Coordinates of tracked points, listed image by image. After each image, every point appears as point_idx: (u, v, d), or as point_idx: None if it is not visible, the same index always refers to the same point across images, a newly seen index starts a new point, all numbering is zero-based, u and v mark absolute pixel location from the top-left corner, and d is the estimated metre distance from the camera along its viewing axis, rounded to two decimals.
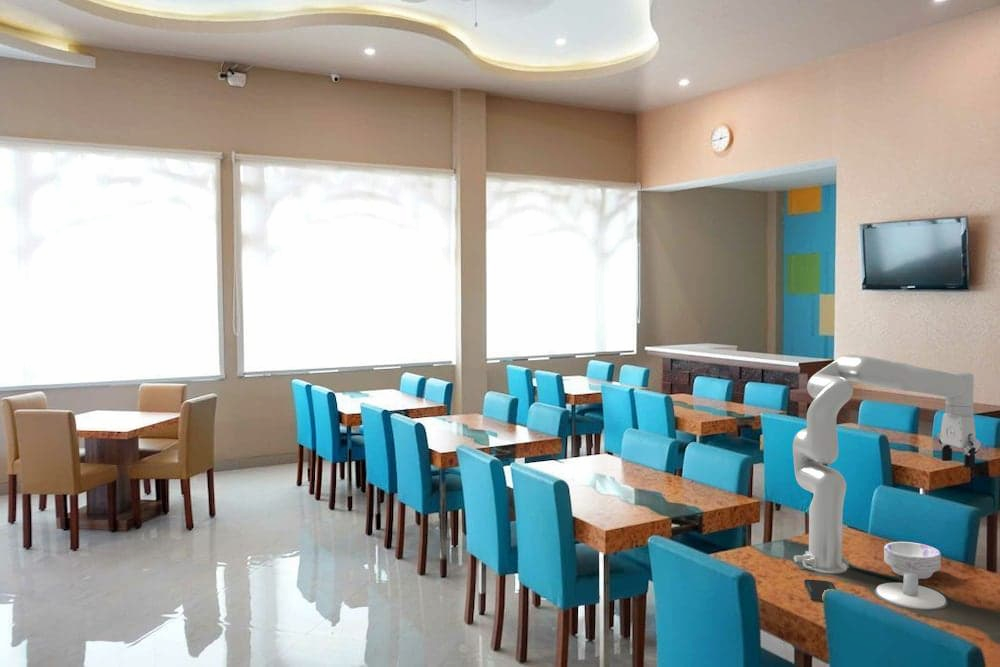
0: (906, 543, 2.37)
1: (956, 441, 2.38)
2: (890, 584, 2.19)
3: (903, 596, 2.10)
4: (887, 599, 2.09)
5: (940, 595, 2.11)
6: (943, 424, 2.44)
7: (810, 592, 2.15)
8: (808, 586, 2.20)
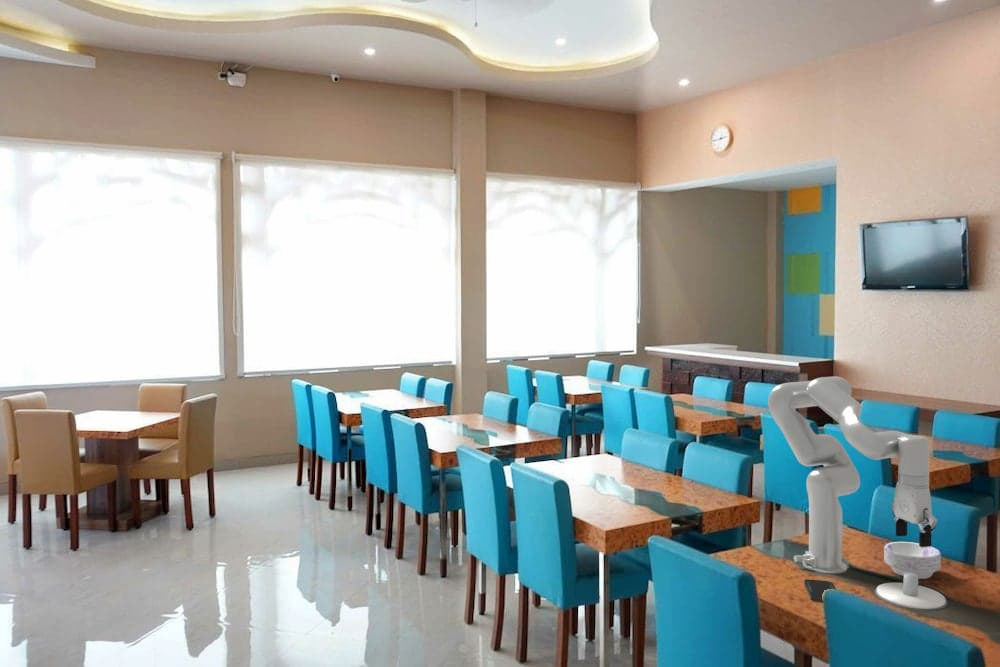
0: (906, 543, 2.37)
1: (910, 516, 2.08)
2: (890, 584, 2.19)
3: (903, 596, 2.10)
4: (887, 599, 2.09)
5: (940, 595, 2.11)
6: (896, 495, 2.14)
7: (810, 592, 2.15)
8: (808, 586, 2.20)
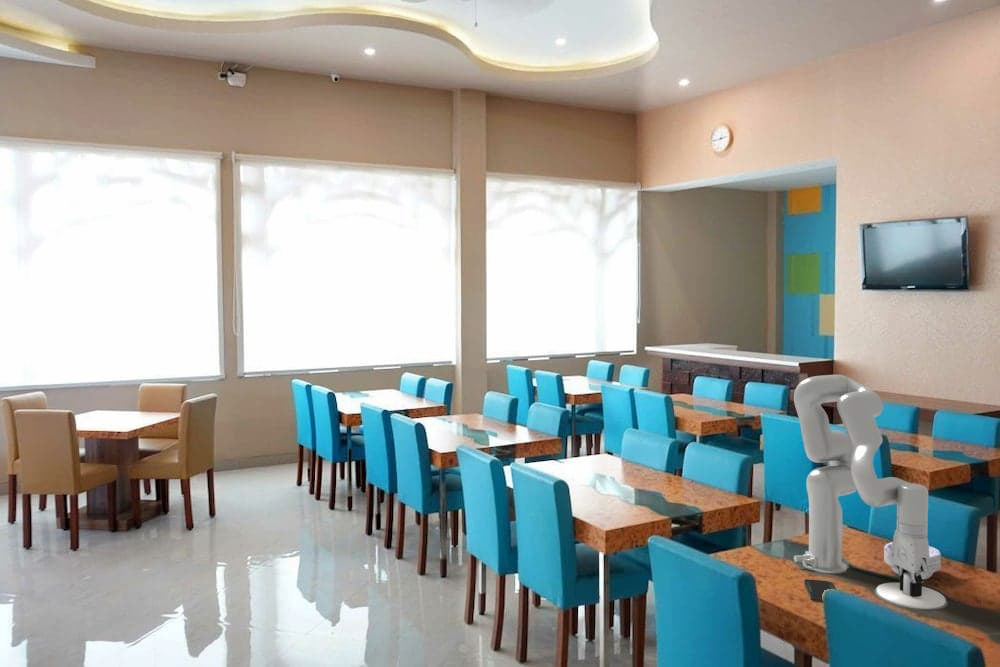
0: None
1: (908, 565, 2.09)
2: (890, 584, 2.19)
3: (903, 596, 2.10)
4: (887, 599, 2.09)
5: (940, 595, 2.11)
6: (894, 542, 2.14)
7: (810, 592, 2.15)
8: (808, 586, 2.20)
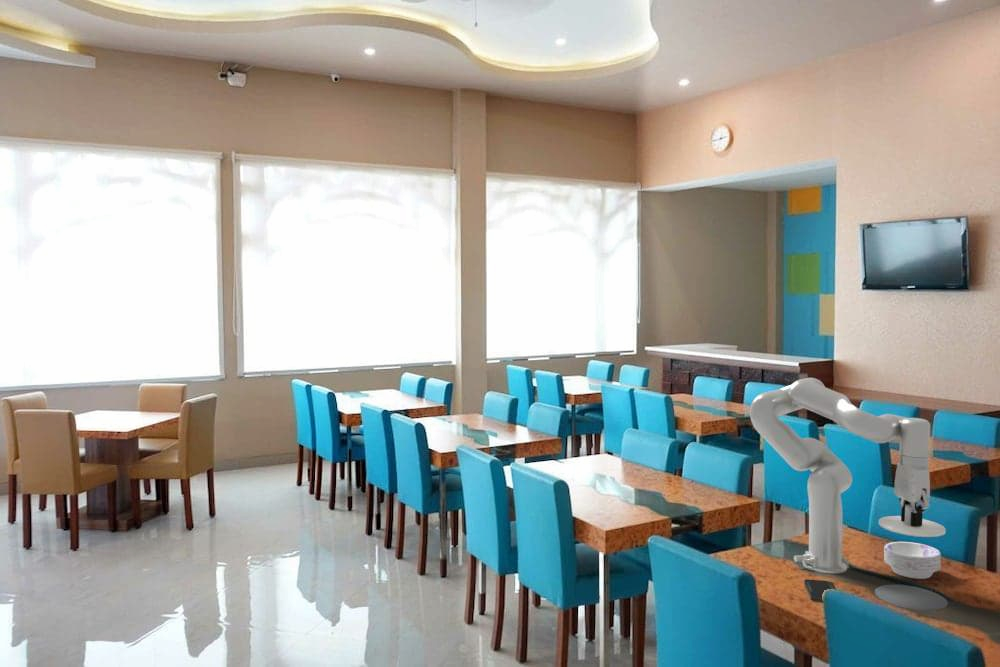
0: (906, 543, 2.37)
1: (909, 495, 2.16)
2: (893, 517, 2.26)
3: (904, 526, 2.17)
4: (888, 528, 2.17)
5: (941, 526, 2.18)
6: (897, 475, 2.22)
7: (810, 592, 2.15)
8: (808, 586, 2.20)
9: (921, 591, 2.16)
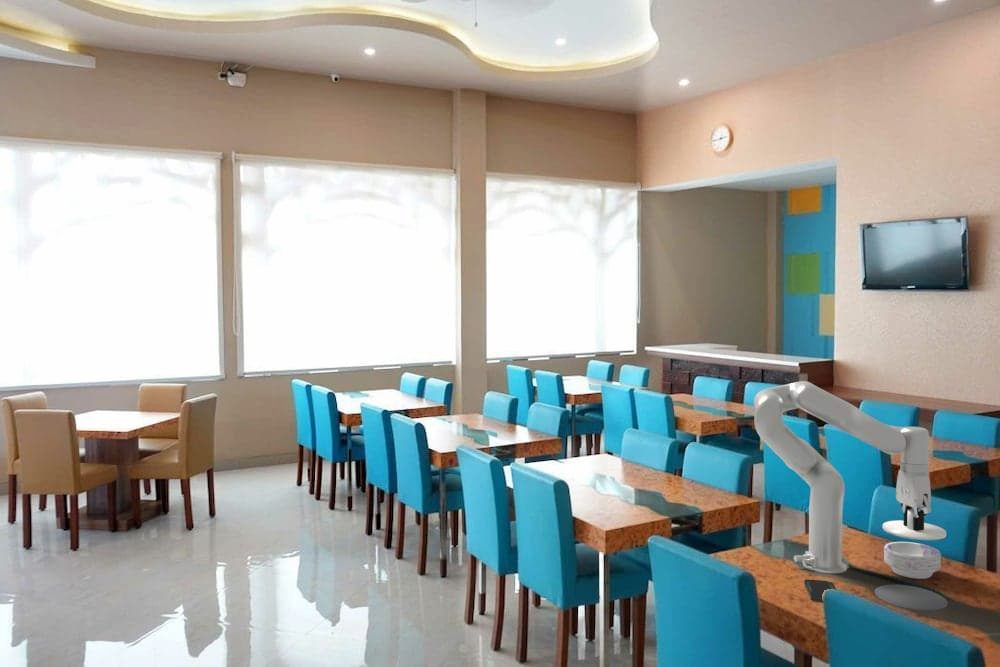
0: (906, 543, 2.37)
1: (911, 501, 2.27)
2: (895, 521, 2.37)
3: (907, 530, 2.28)
4: (892, 533, 2.27)
5: (941, 529, 2.29)
6: (898, 481, 2.32)
7: (810, 592, 2.15)
8: (808, 586, 2.20)
9: (921, 591, 2.16)
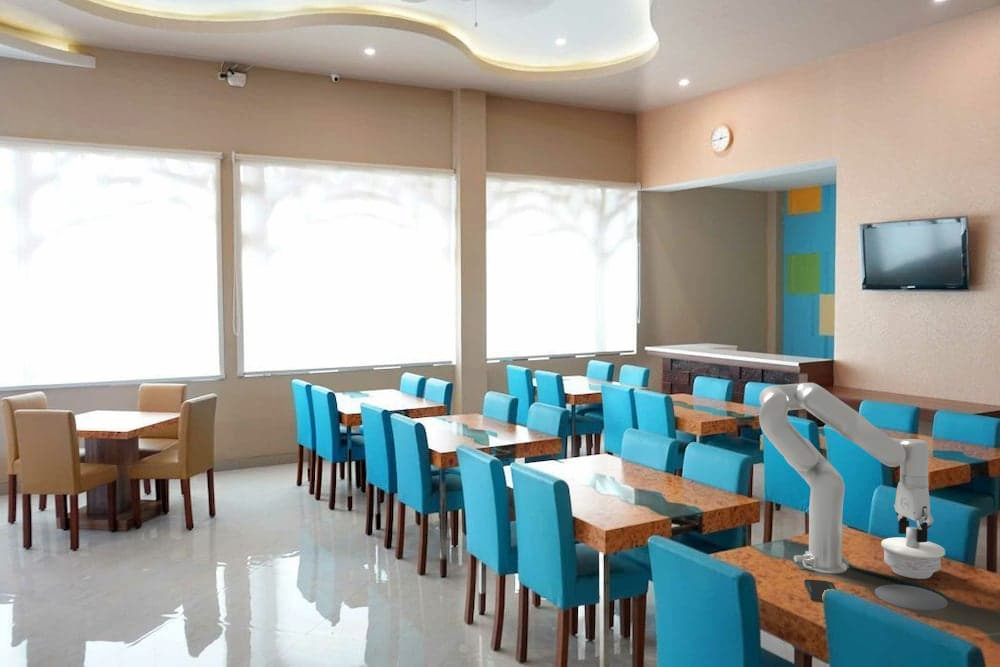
0: None
1: (910, 513, 2.27)
2: (893, 538, 2.37)
3: (906, 548, 2.28)
4: (891, 550, 2.27)
5: (940, 547, 2.29)
6: (898, 493, 2.33)
7: (810, 592, 2.15)
8: (808, 586, 2.20)
9: (921, 591, 2.16)
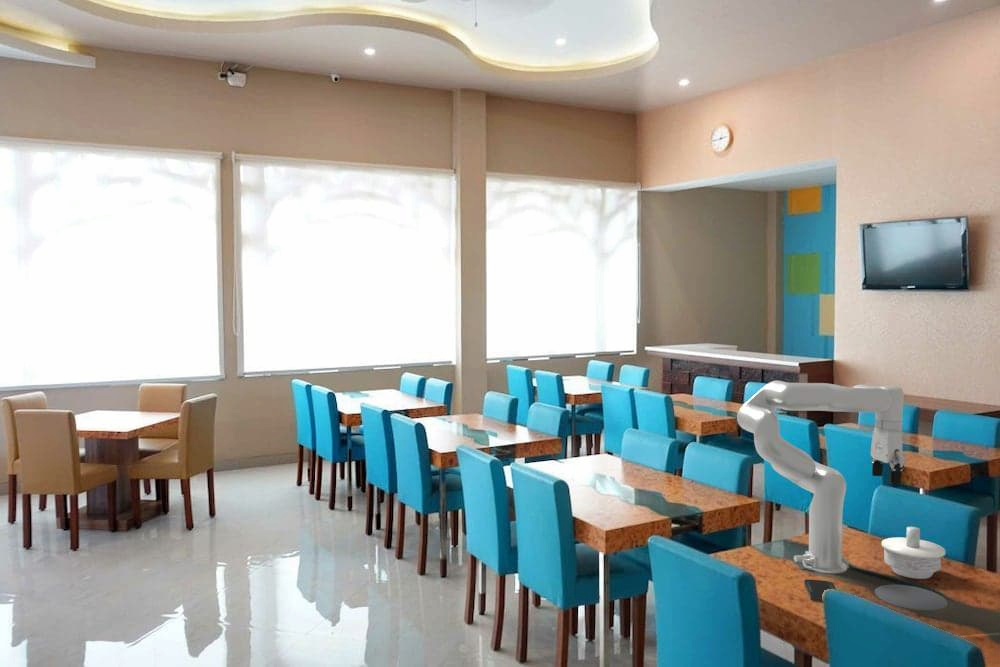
0: None
1: (883, 456, 2.35)
2: (894, 538, 2.37)
3: (907, 548, 2.28)
4: (892, 550, 2.27)
5: (940, 547, 2.29)
6: (873, 438, 2.40)
7: (810, 592, 2.15)
8: (808, 586, 2.20)
9: (921, 591, 2.16)
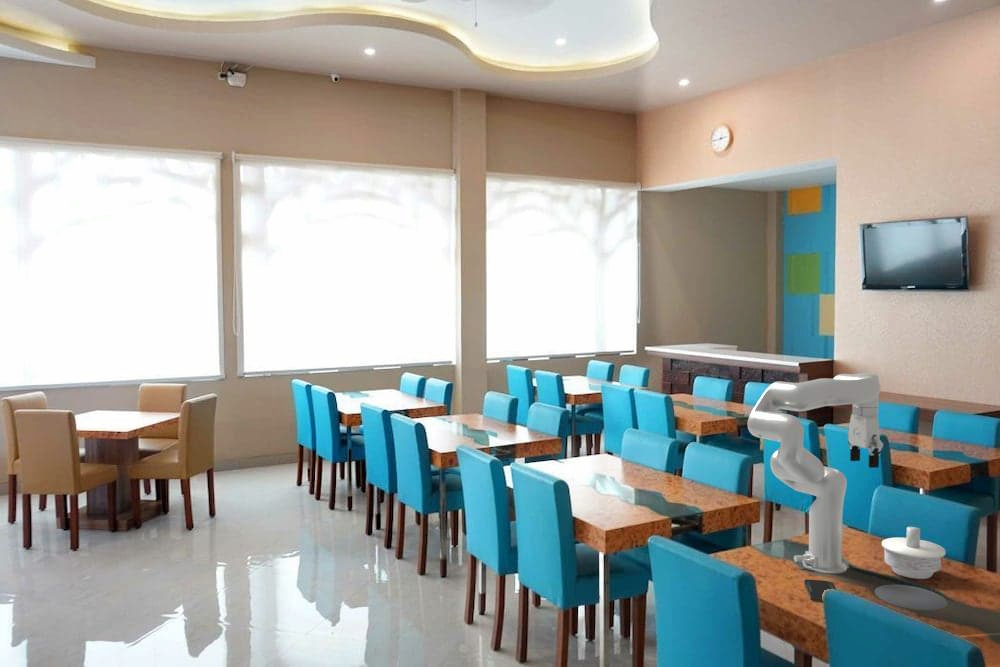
0: None
1: (861, 442, 2.42)
2: (894, 539, 2.37)
3: (907, 548, 2.28)
4: (892, 550, 2.27)
5: (940, 547, 2.29)
6: (851, 425, 2.48)
7: (810, 592, 2.15)
8: (808, 586, 2.20)
9: (921, 591, 2.16)
